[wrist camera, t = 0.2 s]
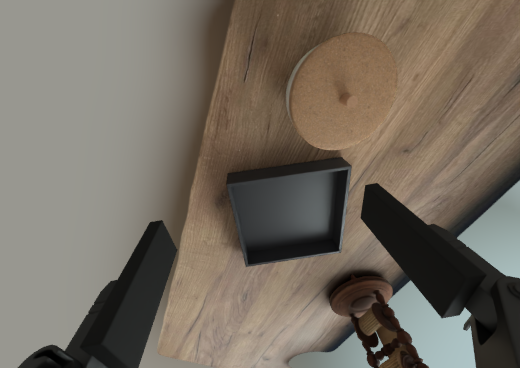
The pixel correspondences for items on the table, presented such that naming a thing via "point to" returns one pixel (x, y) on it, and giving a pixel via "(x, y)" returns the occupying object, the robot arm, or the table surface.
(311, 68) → the trinket box
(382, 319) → the scroll
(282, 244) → the tray
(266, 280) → the table surface
